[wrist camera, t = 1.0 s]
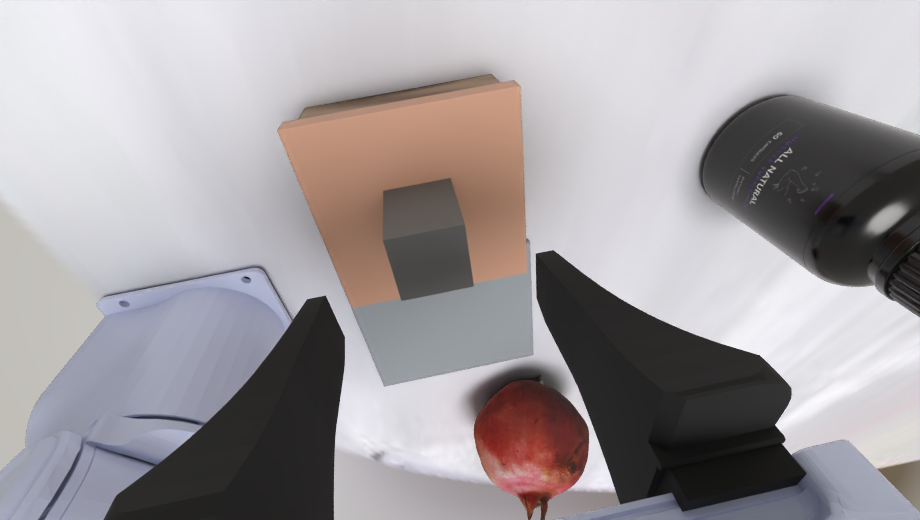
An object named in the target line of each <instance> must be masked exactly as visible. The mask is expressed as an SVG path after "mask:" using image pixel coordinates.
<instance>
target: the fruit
mask: <svg viewBox="0 0 920 520" xmlns="http://www.w3.org/2000/svg"><path fill="white" fill-rule="evenodd" d="M474 438H475V443H476V449H477V452H478V455H479V457H480V460H481V463H482V466H483V469H484V471H485V472H486V474H487V476H488V477H489V479H490V480H491V481H492V482H493V483H494V484H495V485H496V486H497V487H498V488H500V489H501V490H503V491H505V492H508V493H511V494H513V495H515V496H517V497H518V498H519V499H520V500H521V502H522V504H523V505H524V507H525V509H526V510H527V515H528V520H530V519H531V517H532V514H533V510H534V508H541V520H545V515H546V512H547V502H548V501H549V500H550V499H552V498H553V497H554V496H556V495H558V494H560V493H562V492H564V491H566V490H567V489H569V488H571V487H572V486H573V485H574V484H575V483H576V482H577V481H578V480H579V478H580V477H581V475H582V473H583V471H584V468H585V465H586V462H587V459H588V449H589V430H588V426H587V424H586V422H585V421H584V419H583V418H582V417H581V415H580V414H579V413H578V411H577V410H576V409H575V407H574V406H573V405H572V404H571V402H570V401H569V400H568V399H566V398H565V397H564V396H563V395H561V394H560V393H559V392H557V391H556V390H554V389H552V388H550V387H548V386H546V385H544V382H543V380H542V376H541V375H540V376H539V377H538V378H537V379H536V380H528V379H526V380H517V381H513V382H511V383H509V384H507V385H506V386H504V387H503V388H502V389H501V390H500V391H499V392H497V393H496V394H495V395H494V396H493V397H492V398H491V399H490V400H489V401H488V402H487V404H486V405H485V406H484V407H483V408H482V409H481V411H480V412H479V414H478V416H477V419H476V421H475V424H474Z"/></svg>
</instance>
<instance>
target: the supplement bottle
mask: <svg viewBox="0 0 920 520" xmlns="http://www.w3.org/2000/svg"><path fill="white" fill-rule="evenodd" d="M702 179H703V185H704V188H705V190H706V192H707V194H708V195H709V196H710V198H711V199H712V200H714V201H715V202H716V203H717V204H719V205H720V206H721V207H723V208H724V209H725V210H726V211H728V212H729V213H731V214H732V215H733V216H735V217H736V218H737V219H739V220H740V221H741V222H743V223H744V224H745V225H747V226H748V227H750V228H751V229H752V230H754V231H755V232H756V233H758V234H759V235H760V236H762V237H763V238H765V239H766V240H767V241H769V242H770V243H771V244H773V245H774V246H775V247H777V248H778V249H779V250H781V251H782V252H784V253H785V254H786V255H788V256H789V257H790V258H792V259H793V260H794V261H796V262H797V263H799V264H800V265H801V266H803V267H804V268H805V269H807V270H808V271H809V272H811V273H812V274H814V275H815V276H817V277H818V278H820V279H822V280H824V281H826V282H829V283H832V284H836V285H841V286H847V287H865V286H873V285H875V287H876V289H877V290H878V291H879V292H880V293H881V294H883V295H884V296H886V297H887V298H889V299H890V300H893V301H896V302H898V303H899V304H901V305H902V306H904V307H905V308H907V309H908V310H909V311H911V312H912V313H914V314H916V315H917V316H919V317H920V135H918V134H914V133H911V132H908V131H905V130H902V129H899V128H896V127H893V126H890V125H887V124H884V123H881V122H878V121H875V120H872V119H869V118H866V117H863V116H860V115H857V114H853V113H850V112H847V111H844V110H841V109H838V108H835V107H832V106H829V105H826V104H823V103H820V102H816V101H813V100H810V99H807V98H803V97H798V96H780V97H775V98H771V99H768V100H765V101H762V102H760V103H758V104H756V105H754V106H752V107H750V108H749V109H747V110H745V111H744V112H742V113H741V114H740V115H738V116H737V117H736V118H735V119H733V120H732V121H731V122H730V123H729V124H728V125H727V126H726V127H725V128H724V129H723V130H722V132H721V133H720V134H719V135H718V137H717V138H716V139H715V141H714V142H713V144H712V146H711V147H710V149H709V151H708V153H707V156H706V159H705V162H704V166H703V173H702Z"/></svg>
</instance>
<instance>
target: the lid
mask: <svg viewBox="0 0 920 520" xmlns="http://www.w3.org/2000/svg"><path fill="white" fill-rule="evenodd" d="M277 131H278V133H279V136H280V138H281V141H282V143H283V145H284V148H285V150H286V152H287V155H288V157H289V160H290V162H291V164H292V167H293V169H294V172H295V174H296V176H297V179H298V181H299V183H300V186H301V188H302V191H303V193H304V195H305V198H306V200H307V203H308V205H309V207H310V210H311V212H312V215H313V217H314V219H315V222H316V224H317V226H318V229H319V231H320V234H321V236H322V238H323V241H324V243H325V246H326V248H327V250H328V253H329V255H330V258H331V260H332V262H333V265H334V267H335V269H336V272H337V274H338V277H339V279H340V281H341V284H342V286H343V289H344V291H345V293H346V296H347V298H348V301H349V303H350V305H351V308H355V307H360V306H365V305H370V304H375V303H380V302H385V301H390V300H395V299H400V298H401V301H405V300H410V299H415V298H420V297H425V296H430V295H435V294H440V293H444V292H449V291H454V290H459V289H464V288H469V287H474V283H479V282H484V281H489V280H494V279H499V278H504V277H509V276H514V275H518V274H523V273H527V250H526V224H525V198H524V172H523V145H522V119H521V93H520V85H519V84H517V83H516V82H515V81H514V80H513V81H507V82H502V83H496V84H491V85H485V86H480V87H474V88H469V89H463V90H458V91H452V92H447V93H441V94H436V95H430V96H425V97H419V98H414V99H408V100H403V101H397V102H392V103H386V104H381V105H375V106H370V107H364V108H359V109H353V110H348V111H342V112H337V113H331V114H326V115H320V116H315V117H309V118H304V119H298V120H293V121H287V122H283V123H282V124H281V126H280V127H279V128H278V130H277Z"/></svg>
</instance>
